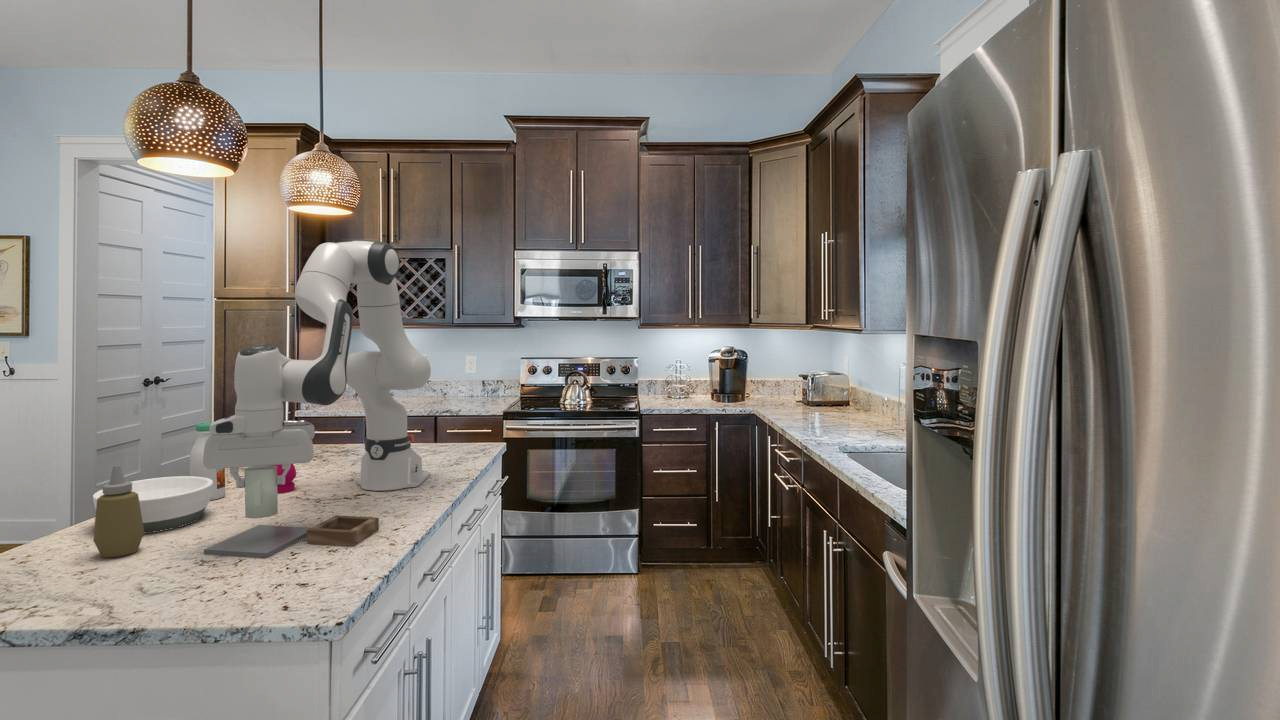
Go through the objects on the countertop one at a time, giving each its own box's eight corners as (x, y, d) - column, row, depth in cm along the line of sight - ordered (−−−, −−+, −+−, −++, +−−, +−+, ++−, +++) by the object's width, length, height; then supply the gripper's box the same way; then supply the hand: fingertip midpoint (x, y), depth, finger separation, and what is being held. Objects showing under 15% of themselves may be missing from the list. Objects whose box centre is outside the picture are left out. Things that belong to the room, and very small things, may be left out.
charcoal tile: (259, 528, 146) (259, 524, 146) (316, 532, 144) (316, 527, 144) (203, 554, 130) (203, 549, 130) (266, 558, 129) (266, 553, 129)
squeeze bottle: (102, 549, 132) (99, 463, 131) (150, 544, 136) (147, 460, 134) (87, 563, 125) (83, 472, 124) (137, 557, 128) (134, 469, 127)
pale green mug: (248, 511, 138) (246, 466, 138) (279, 508, 141) (278, 464, 140) (240, 523, 131) (239, 474, 130) (274, 519, 133) (273, 472, 132)
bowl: (71, 542, 136) (70, 504, 136) (123, 511, 158) (122, 478, 157) (193, 533, 143) (192, 497, 142) (227, 505, 164) (226, 473, 164)
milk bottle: (208, 502, 166) (205, 426, 165) (183, 500, 168) (180, 425, 166) (232, 495, 174) (230, 422, 172) (208, 493, 175) (206, 421, 174)
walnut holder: (336, 528, 147) (335, 515, 147) (378, 530, 146) (378, 517, 146) (307, 543, 137) (306, 530, 137) (352, 546, 136) (352, 532, 136)
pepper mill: (287, 494, 175) (285, 421, 174) (261, 493, 175) (259, 421, 174) (301, 487, 182) (300, 417, 181) (276, 486, 182) (275, 417, 181)
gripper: (315, 417, 143) (316, 478, 144) (207, 422, 135) (208, 486, 135) (313, 421, 137) (314, 485, 138) (200, 426, 129) (201, 494, 130)
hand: (261, 485), depth 137 cm, fingers closed on pale green mug, 6 cm apart
